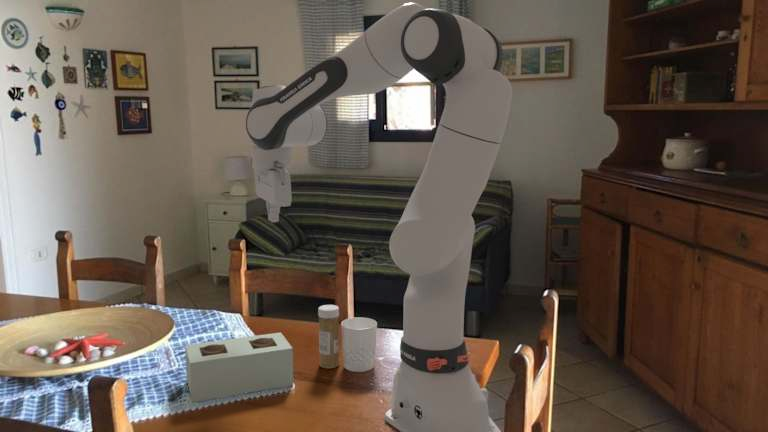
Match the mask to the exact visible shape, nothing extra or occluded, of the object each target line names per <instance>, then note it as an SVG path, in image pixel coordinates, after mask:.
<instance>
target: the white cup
mask: <svg viewBox="0 0 768 432" xmlns="http://www.w3.org/2000/svg"><path fill="white" fill-rule="evenodd" d="M340 326H341V327H340V328H341V329H340V331H341V345H342V357H343V367H344V369H346V370H347V371H350V372H354V373H365V372H368V371H371V370H372V369H373V368H374V367H375V356H376V348H377V333H378V332H377V329H378V322H377V321H376V320H375V319H373V318H369V317H364V316H363V317H361V316H360V317H357V316H356V317H349V318H345V319H344V320H342V321H341V323H340Z"/></svg>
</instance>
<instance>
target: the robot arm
mask: <svg viewBox="0 0 768 432" xmlns="http://www.w3.org/2000/svg"><path fill="white" fill-rule="evenodd" d="M503 61H504V51H503V46H502V45H501V43H500V41H499V39H498V38H497V37H496V36H495V35H494V34H493V33H492V32H491V31H490V30H488V29H486V28H484V27H481V26H480V25H478V24H477V23H475V22H474V21H472V20H471V19H469V18H466V17H464V16H462V15H458V14H455V13H451V12H450V11H448V10H446V9H442V8H441V9H439V8H426V7H425V6H424V5H422V4H419V3H416V2H407V3H403V4H402V5H400V6H398V7H396V8H395V9H394V10H392V11H390V12H388V13H387V14H385V15H384V16H382V17H381V18H380V19H379V20H377V21H376V22H375V23H373V24H372V25H371V26H369V27H368V28H367V29H366V30H365V31H364V32H363V33H361V34H359V36H358V37H356V38H355V39H354V40H353V41H352V42H350V43H348V45H346V46H345V47H343V48H342V49H341V50H339V51H338V52H336V53H334V54H333V55H331V56H329V57H328V58H326V59H324V60H323V61H321V62H320V63H318V64H316V65H315V66H313V67H312V68H310V69H309V70H308V71H306V72H305V73H303V74H302V75H301V76H299V77H298V78H296V79H295V80H294V81H292V82H291V83H290V84H289V85H287V86H284V85H281V84H272V85H266V86H261V87H259V88H257V89H256V90H254V92H253V95H252V99H251V107H250V109H249V110H248V112H247V115H246V118H245V129H246V132H247V135H248V137H249V138H250V140H251V142H252V143H251V157H250V164H251V167H252V169H253V177H254V186H255V193H256V197H259V198H261V199H262V200H264V201H265V206H266V211H267V219H268V220H269V221H270V222H271V223H278V222H279V221H280V219H279V218H280V217H279V215H280V211H281V207H283V208H284V207H290V206H291V204H292V199H293V198H292V184H291V183H292V181H291V174H290V172H289V171H288V169H292V168H293V148H299V147H300V148H302V147H311V146H314V145H315V146H316V145H318V144H320V143H321V142H322V141H323V140H324V138H325V136H326V134H327V132H328V118H327V115H326V113H325V111H324V109H323V108H322V106H321V105H322V104H323V103H325V102H328V101H330V100H333V99H337V98H343V97H344V98H345V97H351V96H365V95H374V94H377V93H380V92H382V91H384V90H386V89H389V88H390V87H392V86H393V85H394V84H396V83H398V82H399V81H401V80H402V79H403V78H404V77H406V75H408V74H409V73H410V72H411V71H413V70H415V71H416V72H417V73H419V74H420V75H422V76H423V77H424V78H425V79H427V81H429V82H430V83H431V84H432V85H435V86H440V85H442V86H443V87H444V90H445V93H446V95H445V96H446V97H445V99H446V100H445V104H444V108H443V111H442V114H441V117H440V121H439V123H438V126H437V128H436V129H437V130H436V133H435V135H434V139H433V142H432V145H431V148H430V151H429V154H428V157H427V160H426V162H425V166H424V168H423V171H422V173H421V174H420V177H419V178H418V180H417V183H416V185H415V187H414V189H413V191H412V192H411V195H410V197H409V199H408V201H407V203H406V206H405V208H404V211H403V213H402V215H401V217H400V219H399V221H398V223H397V225H396V226H395V228H394V229H393V231H392V232H391V235H390V238H389V243H388V245H389V246H388V249H389V253H390V256H391V259H392V261H393V262H394V264H395V265H396V267H398V269H400V270H401V271H403V272H404V273H406V274H408V275H409V279H408V282H407V283H408V284H407V287H406V291H405V293H404V296H403V315H402V316H403V322H402V323H403V325H402V326H403V329H402V331H403V332H402V337H401V338H400V346H399V351H400V352H399V353H400V356H399V357H400V359H401V362H400V364H399V367H398V368H397V370H396V371H395V374H394V375H393V381H392V382H393V384H392V391H391V392H392V394H391V403H390V404H391V405H390V409H388V410H387V411H386V412H385V414H384V421H386V422H387V423H388V424H390V425H391V426H392V427H393V428H395V429H397V430H398V431H399V432H502V431H501V430H500V428H499V427H498V426H497V424H496V423H495V422H494V420H493V419H492V418H491V417H490V416H489V414H490V413H489V412H490V411H489V404H488V401H489V391H488V390H487V388H485V387H482V388H481V387H480V385H479V383H478V382H477V377H476V375H475V374H474V373H473V372H472V371H471V369H470V366H469V361H471V359H469V357H471V355H470V354H468V348H467V345H466V340H465V339H464V327H465V326H464V324H465V319H464V318H465V301H466V293H467V292H466V291H467V286H468V280H469V274H470V267H471V260H472V251H473V242H474V237H475V232H476V224H475V220H474V217H473V216H472V214H473V213H474V210H475V208H476V206H477V204H478V202H479V199H480V197H481V195H482V194H483V192H484V190H485V189H486V187H487V183H488V181H489V178H490V175H491V172H492V169H493V167H494V164H495V161H496V158H497V155H498V153H499V150H500V147H501V143H502V141H503V138H504V135H505V131H506V127H507V126H508V125H507V124H508V120H509V116H510V110H511V105H512V98H513V87H512V84H511V82H510V80H509V79H508V77H507V76H505V75H504V74H502V72H500V71H501V68H502V66H503Z"/></svg>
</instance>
